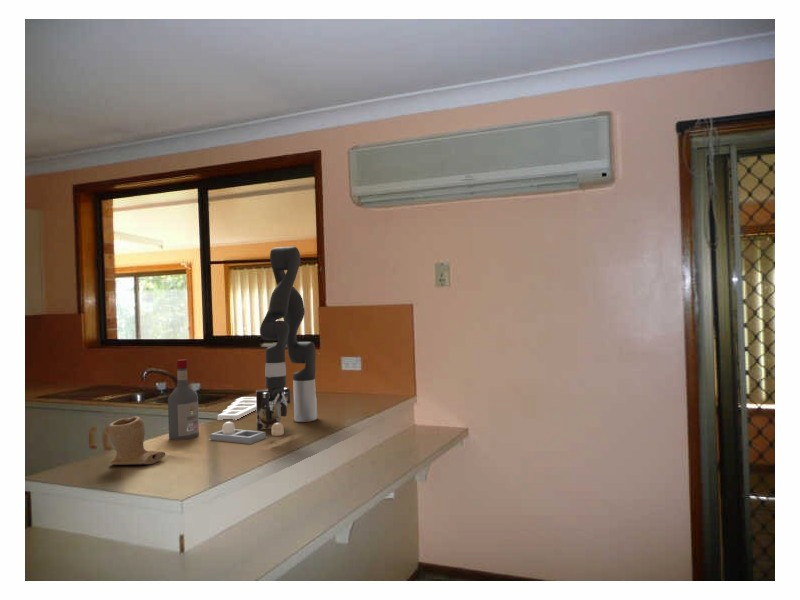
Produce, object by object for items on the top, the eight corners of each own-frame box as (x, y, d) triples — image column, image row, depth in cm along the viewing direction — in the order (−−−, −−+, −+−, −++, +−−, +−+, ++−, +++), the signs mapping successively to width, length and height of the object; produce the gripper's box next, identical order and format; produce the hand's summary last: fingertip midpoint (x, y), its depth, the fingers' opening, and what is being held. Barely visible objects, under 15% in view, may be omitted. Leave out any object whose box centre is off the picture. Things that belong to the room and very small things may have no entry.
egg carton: (227, 437, 215) (227, 428, 215) (268, 441, 207) (267, 431, 207) (208, 443, 206) (207, 434, 206) (250, 448, 198) (250, 438, 198)
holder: (237, 421, 245) (236, 415, 245) (198, 421, 248) (197, 415, 248) (275, 402, 290) (275, 396, 290) (242, 402, 293) (242, 396, 293)
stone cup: (100, 469, 178) (98, 421, 178) (124, 458, 189) (123, 413, 189) (144, 470, 175) (143, 421, 175) (166, 459, 187) (165, 413, 187)
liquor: (202, 438, 214) (200, 359, 213) (182, 444, 206) (179, 361, 206) (186, 436, 218) (183, 358, 218) (165, 442, 210) (163, 360, 210)
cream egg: (228, 435, 211) (227, 420, 211) (237, 436, 209) (237, 420, 209) (219, 438, 207) (219, 422, 207) (229, 439, 205) (229, 423, 205)
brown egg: (276, 436, 214) (276, 421, 214) (286, 437, 213) (285, 421, 212) (269, 439, 210) (268, 423, 210) (279, 440, 209) (278, 424, 208)
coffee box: (257, 433, 220) (255, 391, 220) (256, 429, 226) (255, 389, 226) (281, 431, 222) (279, 390, 222) (280, 427, 229) (278, 387, 228)
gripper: (279, 372, 219) (280, 414, 219) (255, 376, 206) (256, 421, 206) (295, 372, 216) (296, 415, 216) (272, 377, 203) (273, 422, 203)
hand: (276, 418), depth 211 cm, fingers open, 8 cm apart
